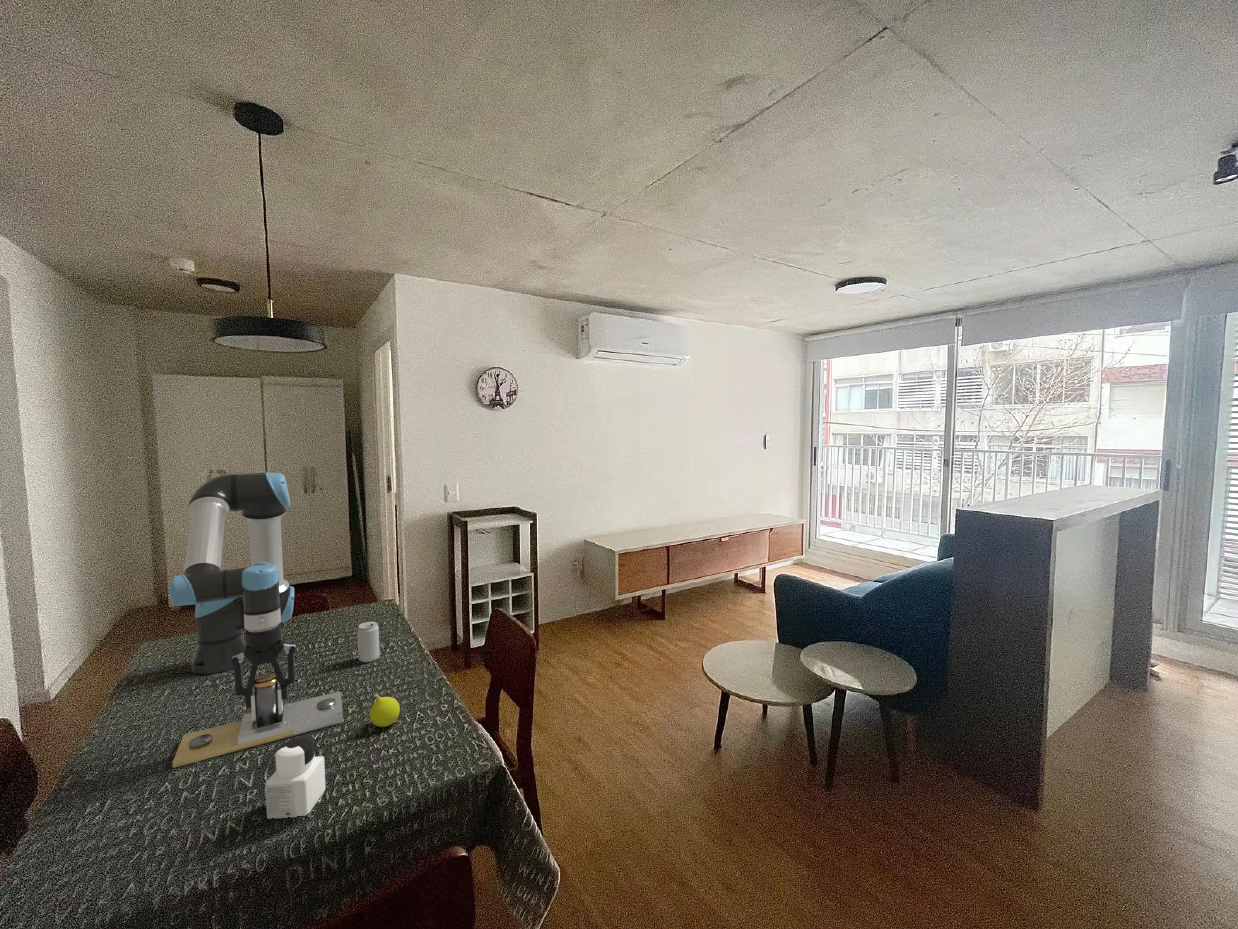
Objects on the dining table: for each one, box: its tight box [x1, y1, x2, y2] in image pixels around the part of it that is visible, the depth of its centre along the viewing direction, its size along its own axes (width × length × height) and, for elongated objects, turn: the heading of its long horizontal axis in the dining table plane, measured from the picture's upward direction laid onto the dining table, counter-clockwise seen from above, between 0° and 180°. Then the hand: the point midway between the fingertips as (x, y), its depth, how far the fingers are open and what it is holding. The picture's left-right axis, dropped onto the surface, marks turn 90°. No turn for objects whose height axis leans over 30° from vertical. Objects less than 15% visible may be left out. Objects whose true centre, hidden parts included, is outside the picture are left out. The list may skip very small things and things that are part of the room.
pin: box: [253, 673, 279, 728], centre depth 128 cm, size 6×6×12 cm
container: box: [265, 736, 326, 820], centre depth 103 cm, size 8×8×13 cm
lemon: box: [369, 693, 401, 728], centre depth 131 cm, size 7×7×10 cm
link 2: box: [238, 690, 344, 744], centre depth 131 cm, size 12×22×4 cm, turn 122°
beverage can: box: [356, 621, 381, 663], centre depth 168 cm, size 6×6×12 cm
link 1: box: [172, 715, 295, 768], centre depth 125 cm, size 12×23×2 cm, turn 122°
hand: (267, 714), depth 128 cm, fingers closed on pin, 5 cm apart
